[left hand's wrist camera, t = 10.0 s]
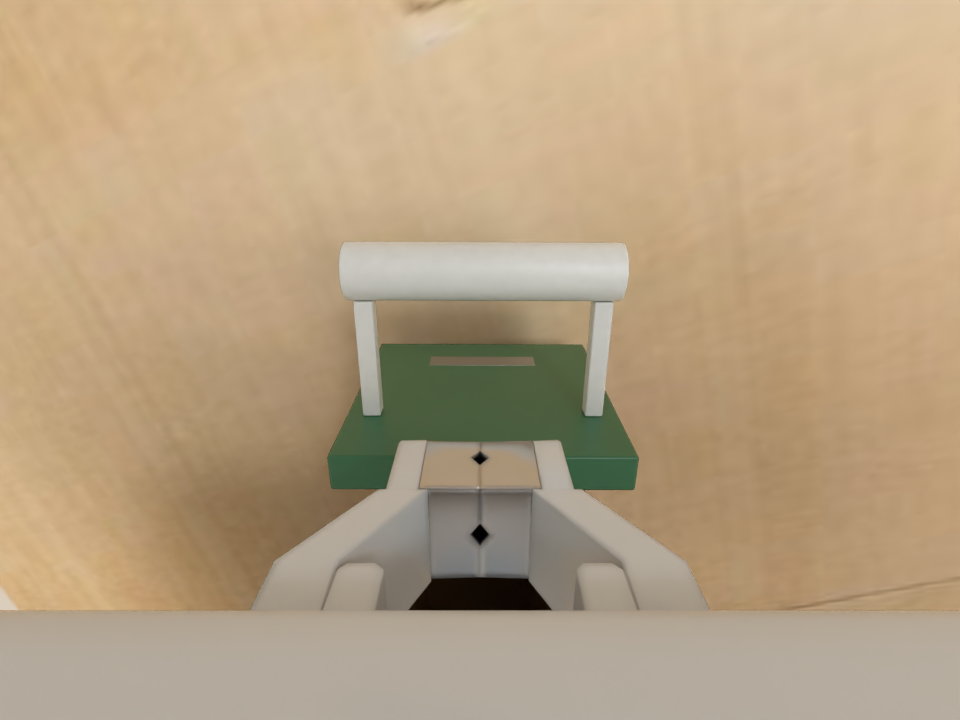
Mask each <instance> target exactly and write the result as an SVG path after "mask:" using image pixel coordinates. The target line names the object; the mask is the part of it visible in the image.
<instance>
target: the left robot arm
mask: <svg viewBox="0 0 960 720" xmlns="http://www.w3.org/2000/svg"><path fill="white" fill-rule="evenodd" d="M466 577H492V578H529V582H530V583H531V584H532V585H533V587H534V588H535V589H536V590H537V592H538V593H539V594H540V595H541V597H542V598H543V599H544V600H545V602H546V603H547V604H548V605H549V607H550V608H551V609H552V610H409V608H410V607H411V606H412V605H413V603H414V602H415V601H416V600H417V598H418V597H419V596H420V595H421V593H422V592H423V591H424V590H425V588H426V587H427V586H428V585H429V583H430V582H431V578H466ZM0 720H960V610H710V608H709V606H708V604H707V602H706V600H705V598H704V596H703V594H702V592H701V590H700V588H699V586H698V584H697V582H696V580H695V578H694V576H693V574H692V572H691V570H690V568H689V566H688V564H687V562H686V561H685V560H683V559H682V558H680V557H679V556H677V555H676V554H675V553H673V552H672V551H670V550H669V549H667V548H666V547H664V546H663V545H662V544H660V543H659V542H657V541H656V540H654V539H653V538H651V537H650V536H649V535H647V534H646V533H644V532H643V531H641V530H640V529H638V528H637V527H636V526H634V525H633V524H631V523H630V522H628V521H627V520H625V519H624V518H623V517H621V516H620V515H618V514H617V513H615V512H614V511H612V510H611V509H609V508H608V507H607V506H605V505H604V504H602V503H601V502H599V501H598V500H596V499H595V498H594V497H592V496H591V495H589V494H588V493H586V492H585V491H583V490H582V489H574V488H573V484H572V480H571V477H570V473H569V470H568V466H567V463H566V459H565V455H564V452H563V448H562V445H561V442H560V441H559V440H542V441H496V442H480V441H430V440H429V441H428V442H427V440H402V441H401V442H400V443H399V444H398V448H397V451H396V455H395V459H394V462H393V466H392V469H391V473H390V477H389V480H388V484H387V487H386V489H378V490H377V491H375V492H374V493H372V494H371V495H369V496H368V497H366V498H365V499H364V500H362V501H361V502H359V503H358V504H356V505H355V506H353V507H352V508H350V509H349V510H348V511H346V512H345V513H343V514H342V515H340V516H339V517H337V518H336V519H334V520H333V521H332V522H330V523H329V524H327V525H326V526H324V527H323V528H321V529H320V530H318V531H317V532H316V533H314V534H313V535H311V536H310V537H308V538H307V539H305V540H304V541H302V542H301V543H300V544H298V545H297V546H295V547H294V548H292V549H291V550H289V551H288V552H286V553H285V554H284V555H282V556H281V557H279V558H278V559H276V560H275V561H274V563H273V564H272V566H271V568H270V570H269V572H268V574H267V576H266V578H265V580H264V582H263V584H262V586H261V588H260V590H259V592H258V594H257V596H256V598H255V600H254V602H253V604H252V606H251V608H250V610H0Z"/></svg>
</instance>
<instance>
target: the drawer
mask: <svg viewBox="0 0 960 720" xmlns="http://www.w3.org/2000/svg"><path fill="white" fill-rule="evenodd" d="M628 278H629V257H628V252H627V248H626V246H625V244H624V243H605V242H344V243H343V244H342V246H341V249H340V254H339V280H340V286H341V290H342V293H343V296H344V298H345V299H347V300H355V301H354V302H353V307H354V318H355V329H356V340H357V351H358V362H359V373H360V384H361V388H360V391H359V393H358V395H357V397H356V399H355V401H354V403H353V405H352V407H351V409H350V411H349V413H348V415H347V417H346V420H345V422H344V424H343V426H342V428H341V430H340V432H339V434H338V436H337V438H336V440H335V442H334V444H333V447H332V449H331V451H330V453H329V455H328V457H327V458H328V466H329V474H330V482H331V488H332V489H386V487H387V484H388V480H389V477H390V473H391V469H392V466H393V462H394V459H395V455H396V451H397V448H398V444H399V443H400V442H401V441H402V440H427V442H428V441H429V440H430V441H480V442H496V441H542V440H559V441H560V442H561V445H562V448H563V452H564V455H565V459H566V463H567V466H568V470H569V473H570V477H571V480H572V484H573V488H574V489H582V490H583V491H585V490H634V488H635V482H636V475H637V468H638V461H639V458H638V455H637V453H636V451H635V449H634V447H633V445H632V443H631V441H630V439H629V437H628V435H627V433H626V431H625V429H624V427H623V425H622V423H621V421H620V419H619V417H618V415H617V413H616V411H615V409H614V407H613V405H612V403H611V401H610V399H609V397H608V395H607V393H606V391H605V384H606V374H607V364H608V355H609V345H610V335H611V326H612V316H613V306H614V303H613V302H612V301H620V300H622V299H623V297H624V295H625V292H626V289H627V285H628ZM375 300H444V301H591V311H590V323H589V335H588V346H587V353H586V351H585V349H584V347H583V345H521V344H382V345H381V347H380V349H379V342H378V328H377V315H376V301H375ZM409 610H552V609H551V608H550V607H549V605H548V604H547V603H546V602H545V600H544V599H543V598H542V597H541V595H540V594H539V593H538V592H537V590H536V589H535V588H534V587H533V585H532V584H531V583H530V582H529V578H492V577H466V578H431V582H430V583H429V585H428V586H427V587H426V588H425V590H424V591H423V592H422V593H421V595H420V596H419V597H418V598H417V600H416V601H415V602H414V603H413V605H412V606H411V607H410V608H409Z"/></svg>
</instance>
